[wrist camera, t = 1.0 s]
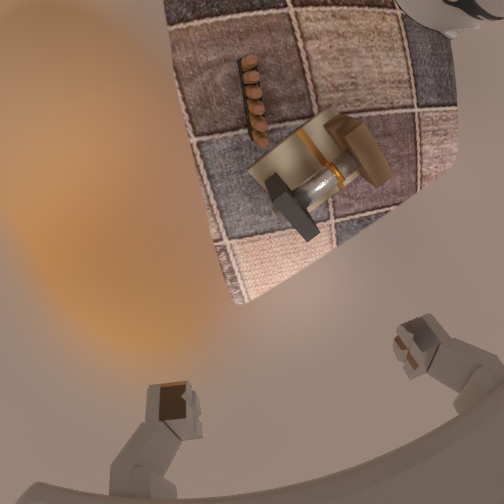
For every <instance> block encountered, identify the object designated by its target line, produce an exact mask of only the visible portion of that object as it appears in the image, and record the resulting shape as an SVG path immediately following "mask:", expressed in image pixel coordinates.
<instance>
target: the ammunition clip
mask: <svg viewBox="0 0 504 504" xmlns="http://www.w3.org/2000/svg"><path fill="white" fill-rule="evenodd" d="M257 62H258V58H257V56H256V55H254V54H250V55H246V56H244V58H243V59H242V58H240V59H239V60H238V67H239V74H240V80H241V86H242V93H243V99H244V106H245V112H246V119H247V126H248V132H249V136H250V138H251V140H252V141H255V143H257V144H258V145H259V146H260V147H261V148H268V146H269V140H268V135H267V133H266V129H267V124H266V120H265V118H264V112H265V108H264V105H263V103H262V97H261V96H262V94H263V92H262V90H261V88H260V83H259V79H260V74H259V72H258V69H257ZM254 68H255V69H256V71H255V70H254ZM257 82H258V86H257V84H256V83H257ZM259 98H260V101H259Z"/></svg>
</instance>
